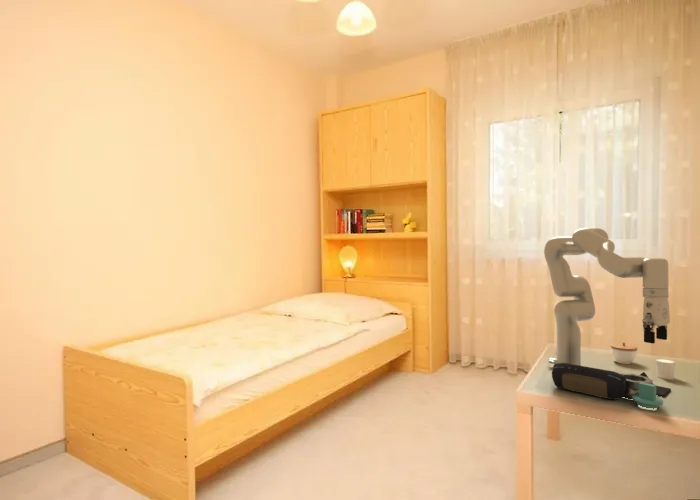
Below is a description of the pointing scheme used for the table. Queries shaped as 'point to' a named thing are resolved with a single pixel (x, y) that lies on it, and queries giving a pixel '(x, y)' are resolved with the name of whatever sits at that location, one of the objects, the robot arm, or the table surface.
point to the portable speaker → (589, 380)
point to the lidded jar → (623, 353)
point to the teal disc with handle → (647, 396)
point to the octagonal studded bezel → (634, 384)
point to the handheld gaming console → (659, 388)
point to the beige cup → (665, 368)
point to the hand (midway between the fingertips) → (655, 341)
